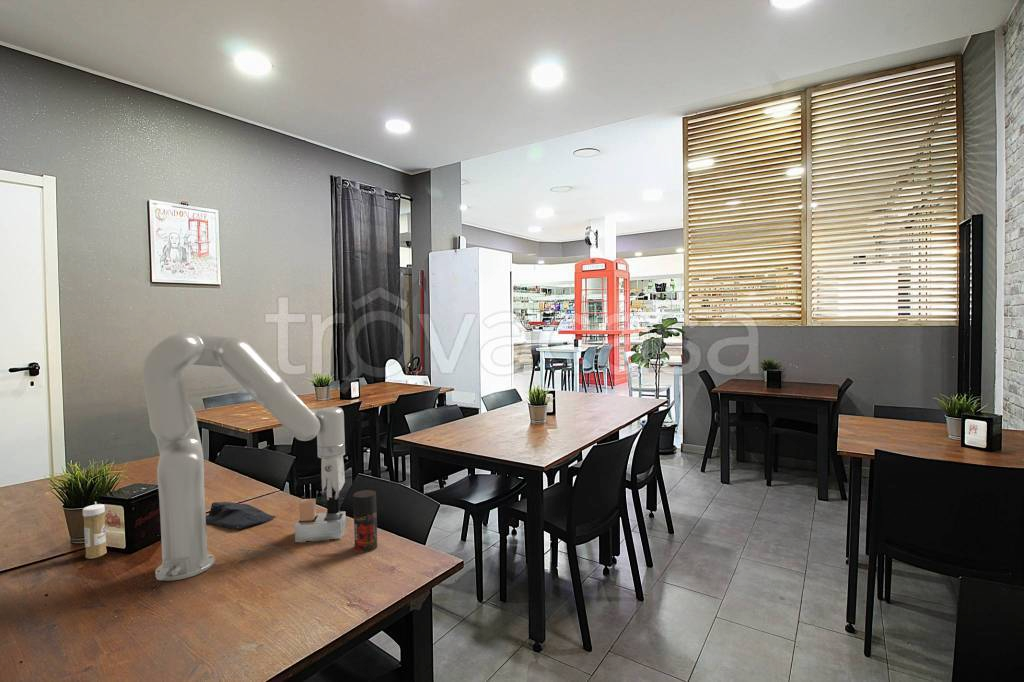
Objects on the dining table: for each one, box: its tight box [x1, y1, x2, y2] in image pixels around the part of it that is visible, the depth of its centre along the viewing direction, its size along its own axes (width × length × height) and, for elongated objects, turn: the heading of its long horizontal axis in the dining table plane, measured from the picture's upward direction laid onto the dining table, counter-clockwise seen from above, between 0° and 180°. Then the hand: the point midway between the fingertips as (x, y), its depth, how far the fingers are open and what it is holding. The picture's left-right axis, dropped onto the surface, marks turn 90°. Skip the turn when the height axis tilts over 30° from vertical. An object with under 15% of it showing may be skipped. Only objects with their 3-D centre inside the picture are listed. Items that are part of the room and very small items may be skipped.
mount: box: [294, 511, 347, 543], centre depth 144 cm, size 8×12×6 cm, turn 99°
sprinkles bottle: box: [82, 503, 108, 560], centre depth 134 cm, size 5×5×13 cm
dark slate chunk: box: [206, 501, 276, 530], centre depth 158 cm, size 15×22×5 cm
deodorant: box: [352, 489, 378, 554], centre depth 136 cm, size 6×6×15 cm
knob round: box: [325, 509, 341, 521], centre depth 145 cm, size 4×4×5 cm
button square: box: [299, 497, 317, 521], centre depth 144 cm, size 4×4×5 cm
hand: (333, 512), depth 145 cm, fingers closed
